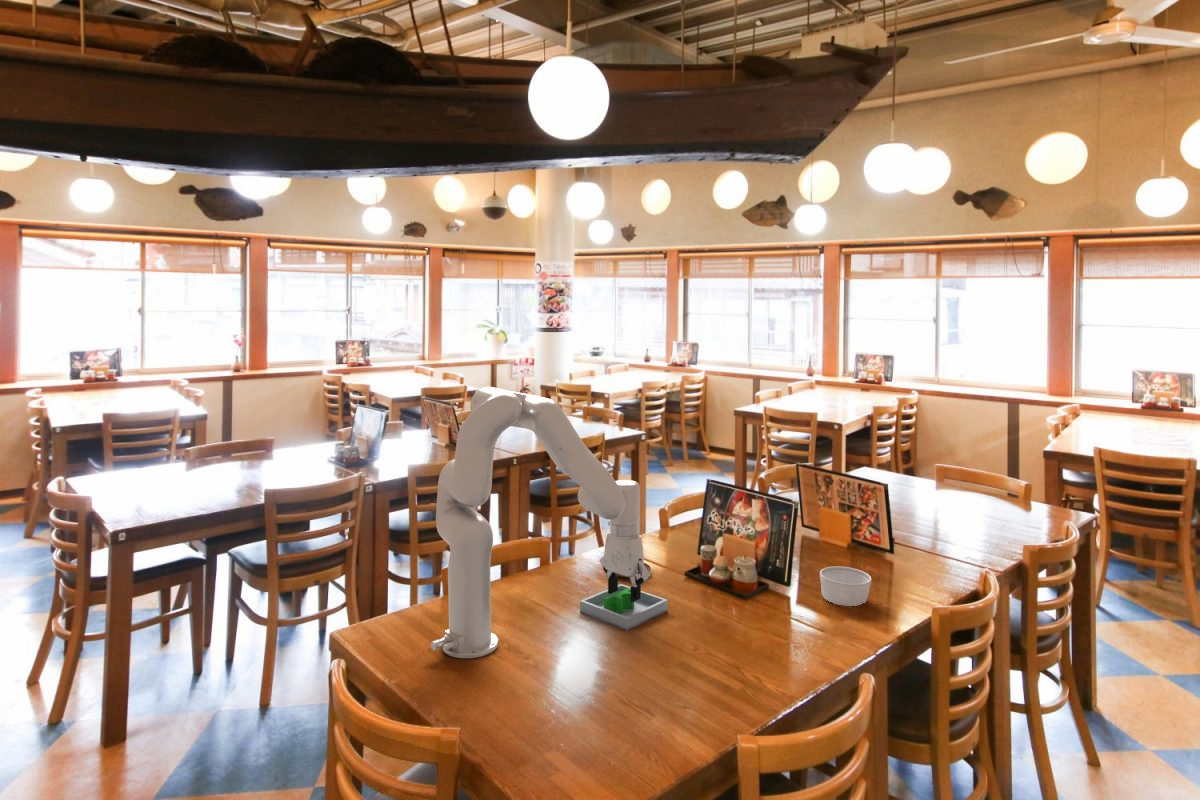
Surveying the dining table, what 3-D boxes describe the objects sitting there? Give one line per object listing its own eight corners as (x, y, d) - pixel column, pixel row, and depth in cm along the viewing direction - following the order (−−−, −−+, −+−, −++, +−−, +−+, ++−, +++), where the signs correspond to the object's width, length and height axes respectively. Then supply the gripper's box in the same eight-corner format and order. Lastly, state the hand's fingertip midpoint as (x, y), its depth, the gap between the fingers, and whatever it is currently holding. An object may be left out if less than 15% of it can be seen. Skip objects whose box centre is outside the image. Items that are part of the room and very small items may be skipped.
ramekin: (881, 605, 191) (882, 580, 190) (841, 612, 186) (842, 586, 185) (847, 587, 203) (848, 563, 202) (808, 594, 198) (809, 569, 197)
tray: (627, 630, 174) (627, 618, 174) (579, 612, 185) (580, 600, 185) (667, 611, 186) (667, 599, 186) (620, 594, 197) (620, 583, 196)
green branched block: (613, 618, 180) (613, 601, 180) (603, 614, 183) (603, 598, 182) (641, 605, 188) (641, 590, 187) (631, 602, 190) (631, 586, 189)
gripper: (589, 525, 186) (589, 591, 188) (641, 539, 174) (641, 610, 176) (609, 519, 191) (608, 583, 194) (661, 532, 180) (659, 601, 182)
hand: (624, 595), depth 185 cm, fingers open, 7 cm apart
